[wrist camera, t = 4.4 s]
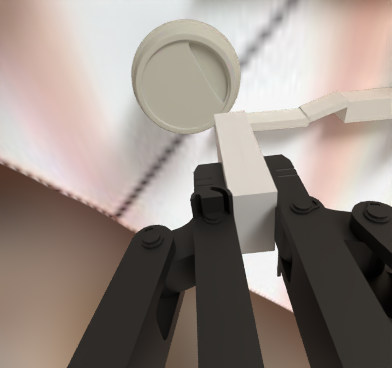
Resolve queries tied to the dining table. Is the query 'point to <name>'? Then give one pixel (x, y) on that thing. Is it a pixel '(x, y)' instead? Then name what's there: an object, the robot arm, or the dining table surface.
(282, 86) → the dining table surface
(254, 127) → the u-shaped frame
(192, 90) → the coffee cup
